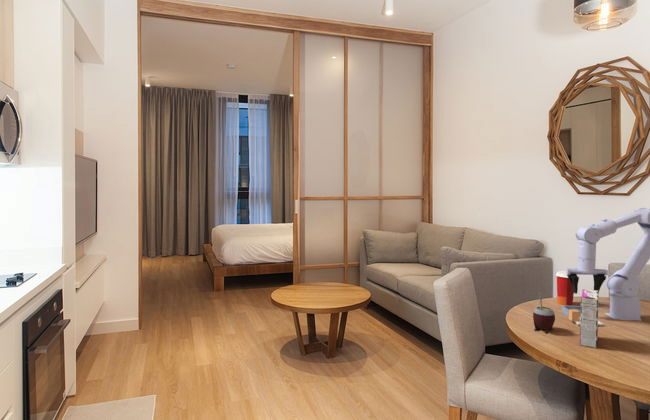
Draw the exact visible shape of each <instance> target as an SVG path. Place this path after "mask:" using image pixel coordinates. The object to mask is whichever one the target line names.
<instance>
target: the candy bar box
mask: <svg viewBox="0 0 650 420" xmlns="http://www.w3.org/2000/svg"><path fill="white" fill-rule="evenodd" d="M599 293H600V291H599V292H598V291H596V290H594V289H587V288H585V289H584V288H582V290H581V299H580V306H581V323H580V325H579V326H580V333H579V334H580V336H579V338H580V339H579V340H580V341H579V344H580V346H582V347H587V348H594V349H597V348H598V333H599V332H598V331H599V330H598V329H599V327H598V326H599V325H598V321H599V299H600V298H599Z"/></svg>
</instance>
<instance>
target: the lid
mask: <svg viewBox="0 0 650 420" xmlns="http://www.w3.org/2000/svg"><path fill="white" fill-rule="evenodd" d="M568 319H569V320H570V321H571V322H574V323H575V324H576V325H578V326H580V323H581V317H580V312H579V311H578V310H573V309H569V317H568ZM598 326H602V327H603V326H604V323H603V322H601V321H600V320H598Z"/></svg>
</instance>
